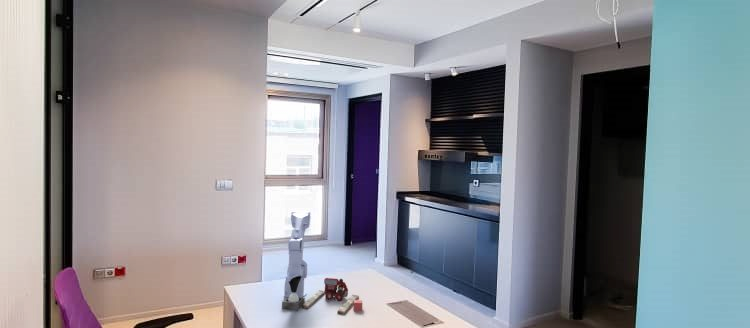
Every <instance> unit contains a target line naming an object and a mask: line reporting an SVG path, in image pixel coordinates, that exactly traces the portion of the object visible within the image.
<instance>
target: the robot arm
mask: <svg viewBox="0 0 750 328" xmlns="http://www.w3.org/2000/svg"><path fill="white" fill-rule="evenodd" d="M290 222H291V223H290V224H291V228H293V229H292V231H291V235H290V239H289V240H288V245H287V247H288V255H289V256H288V266H287V271H286V276H285V281H284V288H283V289H284V290H283V291H284V294H283V297H284V298H288V297H289V296H290V295H291V294H293V293H295V294H297V295H298V297H301V298H305V296H306V295H307V294H308V293H306V292H304V291H305V279H306V278H307V276H308V263H307V262H306V261H305V260H304V258H303V257H304V256H303V254H304V244H305V243H304V241H305V233H306V230H307V229H309V228H310V225H311V211H303V210H302V211H301V210H292V211H291V215H290Z"/></svg>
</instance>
